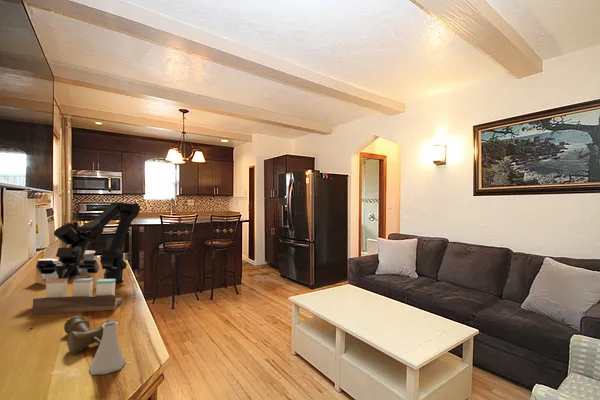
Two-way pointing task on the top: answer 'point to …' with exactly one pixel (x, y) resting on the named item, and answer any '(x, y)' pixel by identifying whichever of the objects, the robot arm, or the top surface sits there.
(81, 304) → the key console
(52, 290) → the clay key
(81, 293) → the grey key
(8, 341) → the top surface
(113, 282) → the teal key
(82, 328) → the kendama
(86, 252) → the coffee cup
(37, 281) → the small box
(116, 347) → the flask
